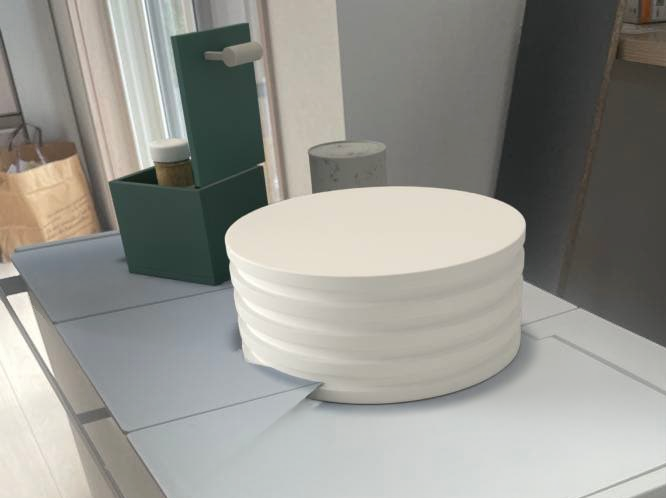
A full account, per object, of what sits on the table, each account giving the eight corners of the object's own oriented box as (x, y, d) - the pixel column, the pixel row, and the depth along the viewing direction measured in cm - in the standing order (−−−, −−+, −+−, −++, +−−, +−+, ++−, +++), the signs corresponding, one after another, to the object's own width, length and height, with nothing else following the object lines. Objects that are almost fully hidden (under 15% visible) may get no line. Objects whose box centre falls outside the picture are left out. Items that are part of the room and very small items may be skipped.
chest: (129, 272, 105) (107, 181, 99) (192, 242, 114) (176, 157, 108) (215, 286, 100) (199, 191, 94) (275, 254, 109) (263, 165, 103)
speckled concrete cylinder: (305, 260, 107) (294, 156, 99) (334, 237, 114) (325, 138, 106) (376, 265, 104) (370, 159, 97) (400, 241, 111) (396, 141, 104)
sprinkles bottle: (164, 257, 107) (140, 143, 99) (187, 247, 110) (166, 135, 102) (191, 262, 105) (169, 146, 97) (214, 251, 108) (195, 138, 100)
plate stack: (578, 352, 81) (590, 231, 74) (322, 435, 70) (307, 301, 63) (423, 274, 101) (420, 172, 94) (202, 329, 89) (181, 218, 83)
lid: (169, 36, 85) (209, 37, 83) (243, 22, 94) (280, 23, 92) (195, 186, 94) (231, 190, 92) (260, 161, 103) (294, 164, 101)
